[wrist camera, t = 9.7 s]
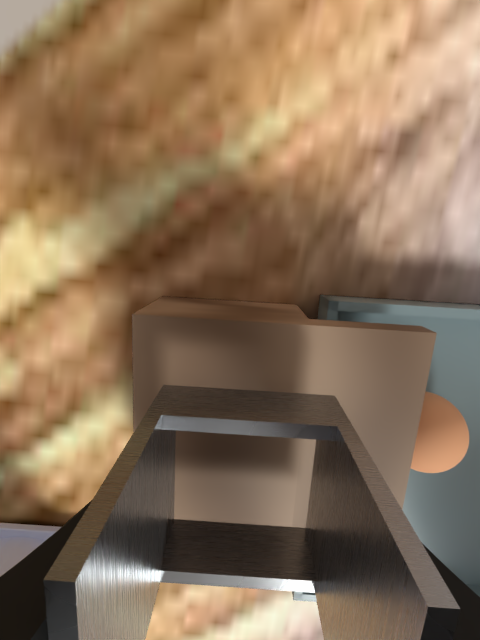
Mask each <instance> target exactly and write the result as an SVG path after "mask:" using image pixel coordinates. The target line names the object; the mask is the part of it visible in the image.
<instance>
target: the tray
mask: <svg viewBox="0 0 480 640" xmlns="http://www.w3.org/2000/svg"><path fill="white" fill-rule="evenodd" d="M318 320H334V321H351V322H367V323H383V324H399V325H416V326H423V327H425V328H427V329H429V330H431V331H434V332H436V333H437V335H436V340H435V345H434V350H433V355H432V360H431V365H430V371H429V376H428V381H427V386H426V392H430V393H434V394H437V395H439V396H441V397H443V398H445V399H446V400H448V401H449V402H451V403H452V404H453V405H454V406H455V407H456V408H457V409H458V410H459V412H460V413H461V414H462V416H463V417H464V419H465V421H466V424H467V426H468V430H469V446H468V449H467V452H466V454H465V456H464V458H463V459H462V460H461V461H460V462H459V463H458V464H457V465H456V466H455V467H453V468H451V469H449V470H447V471H444V472H439V473H424V472H419V471H416V470H413V469H411V468H410V473H409V478H408V483H407V489H406V494H405V499H404V504H403V509H402V510H403V512H404V514H405V515H406V517H407V519H408V521H409V522H410V524H411V526H412V527H413V529H414V531H415V532H416V534H417V536H418V538H419V539H420V541H421V542H422V543H423V544H424V545H425V546H426V547H427V548H428V549H429V550H430V551H431V552H432V553H433V554H434V555H435V556H436V557H437V558H438V559H439V560H440V561H441V562H442V563H443V564H444V565H445V566H446V567H447V568H449V569H450V570H451V571H452V572H453V573H454V574H455V575H456V576H457V577H458V578H459V579H460V580H462V581H463V582H464V583H465V584H466V585H467V586H468V587H469V588H470V589H471V590H472V591H474V592H475V593H476V594H477V595H478V596H479V597H480V305H479V304H463V303H446V302H430V301H413V300H397V299H381V298H364V297H348V296H331V295H320V301H319V310H318ZM292 593H293V600H299V601H314V602H317V600H316V595H315V593H310V592H296V591H292Z"/></svg>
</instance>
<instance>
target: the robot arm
mask: <svg viewBox="0 0 480 640" xmlns="http://www.w3.org/2000/svg"><path fill="white" fill-rule="evenodd" d="M91 502H92V500H91V501H90V502H89V503H88V504H87V505H86V506H85V507H84V508H83V509H81V510H80V511H79V512H78V513H77V514H76V515H75V516H74V517H72V518H71V519H70V520H69V521H68V522H67V523H66V524H65V525H63V526H62V527H57V526H42V525H28V524H13V523H0V640H49V638H48V627H47V616H46V604H45V593H44V582H43V580H44V578H45V576H46V575H47V573H48V572H49V570H50V568H51V567H52V565H53V563H54V562H55V560H56V558H57V557H58V555H59V554H60V552H61V550H62V549H63V547H64V545H65V544H66V542H67V541H68V539H69V537H70V536H71V534H72V532H73V531H74V529H75V528H76V526H77V524H78V523H79V521H80V519H81V518H82V516H83V515H84V513H85V511H86V510H87V508H88V506H89V505H90V503H91ZM421 543H422V542H421ZM422 544H423V543H422ZM423 546H424V548H425V549H426V551H427V553H428V555H429V556H430V558H431V560H432V561H433V563H434V565H435V566H436V568H437V570H438V572H439V573H440V575H441V577H442V578H443V580H444V582H445V583H446V585H447V587H448V589H449V590H450V592H451V594H452V595H453V597H454V599H455V600H456V602H457V604H458V606H459V607H460V613H459V617H458V621H457V625H456V629H455V632H454V636H453V640H480V597H479V596H478V595H477V594H476V593H475V592H474V591H472V590H471V589H470V588H469V587H468V586H467V585H466V584H465V583H464V582H463V581H462V580H460V579H459V578H458V577H457V576H456V575H455V574H454V573H453V572H452V571H451V570H450V569H449V568H447V567H446V566H445V565H444V564H443V563H442V562H441V561H440V560H439V559H438V558H437V557H436V556H435V555H434V554H433V553H432V552H431V551H430V550H429V549H428V548H427V547H426V546H425V545H424V544H423Z"/></svg>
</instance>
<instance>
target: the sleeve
mask: <svg viewBox="0 0 480 640" xmlns="http://www.w3.org/2000/svg"><path fill="white" fill-rule="evenodd" d="M176 431H192V432H207V433H223V434H238V435H253V436H269V437H284V438H300V439H315V440H316V446H315V454H314V463H313V471H312V479H311V487H310V496H309V504H308V512H307V521H306V528H299V527H284V526H269V525H255V524H240V523H225V522H210V521H196V520H181V519H174V500H175V442H176ZM43 582H44V593H45V604H46V616H47V627H48V638H49V640H145V638H146V634H147V630H148V626H149V623H150V619H151V615H152V611H153V607H154V604H155V600H156V596H157V592H158V588H159V584H160V582H167V583H181V584H195V585H210V586H224V587H239V588H253V589H267V590H282V591H296V592H310V593H315V595H316V600H317V605H318V610H319V615H320V620H321V626H322V631H323V636H324V640H453V636H454V632H455V629H456V625H457V621H458V617H459V613H460V607H459V606H458V604H457V602H456V600H455V599H454V597H453V595H452V594H451V592H450V590H449V589H448V587H447V585H446V583H445V582H444V580H443V578H442V577H441V575H440V573H439V572H438V570H437V568H436V566H435V565H434V563H433V561H432V560H431V558H430V556H429V555H428V553H427V551H426V549H425V548H424V546H423V544H422V543H421V541H420V539H419V538H418V536H417V534H416V532H415V531H414V529H413V527H412V526H411V524H410V522H409V521H408V519H407V517H406V515H405V514H404V512H403V510H402V509H401V507H400V505H399V504H398V502H397V500H396V498H395V497H394V495H393V493H392V492H391V490H390V488H389V487H388V485H387V483H386V481H385V480H384V478H383V476H382V475H381V473H380V471H379V470H378V468H377V466H376V464H375V463H374V461H373V459H372V458H371V456H370V454H369V453H368V451H367V449H366V448H365V446H364V444H363V442H362V441H361V439H360V437H359V436H358V434H357V432H356V431H355V429H354V427H353V425H352V424H351V422H350V420H349V419H348V417H347V415H346V414H345V412H344V410H343V408H342V407H341V405H340V403H339V402H338V400H337V398H336V397H335V396H334V395H318V394H302V393H286V392H271V391H255V390H239V389H224V388H208V387H192V386H176V385H163V386H162V388H161V389H160V391H159V393H158V394H157V396H156V397H155V399H154V401H153V402H152V404H151V406H150V407H149V409H148V410H147V412H146V414H145V415H144V417H143V419H142V420H141V422H140V423H139V425H138V427H137V428H136V430H135V432H134V433H133V435H132V436H131V438H130V440H129V441H128V443H127V445H126V446H125V448H124V449H123V451H122V453H121V454H120V456H119V458H118V459H117V461H116V462H115V464H114V466H113V467H112V469H111V471H110V472H109V474H108V476H107V477H106V479H105V480H104V482H103V484H102V485H101V487H100V489H99V490H98V492H97V493H96V495H95V497H94V498H93V500H92V502H91V503H90V505H89V506H88V508H87V510H86V511H85V513H84V515H83V516H82V518H81V519H80V521H79V523H78V524H77V526H76V528H75V529H74V531H73V532H72V534H71V536H70V537H69V539H68V541H67V542H66V544H65V545H64V547H63V549H62V550H61V552H60V554H59V555H58V557H57V558H56V560H55V562H54V563H53V565H52V567H51V568H50V570H49V572H48V573H47V575H46V576H45V578H44V580H43Z"/></svg>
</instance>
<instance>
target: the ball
mask: <svg viewBox="0 0 480 640" xmlns="http://www.w3.org/2000/svg"><path fill="white" fill-rule="evenodd" d="M468 446H469V430H468V426H467V424H466V421H465V419H464V417H463V416H462V414H461V413H460V412H459V410H458V409H457V408H456V407H455V406H454V405H453V404H452V403H451V402H449V401H448V400H446V399H445V398H443V397H441V396H439V395H437V394H434V393H430V392H426V391H425V396H424V401H423V406H422V412H421V417H420V422H419V427H418V432H417V437H416V442H415V448H414V453H413V458H412V463H411V469H413V470H416V471H419V472H424V473H439V472H444V471H447V470H449V469H451V468H453V467H455V466H456V465H457V464H458V463H459V462H460V461H461V460H462V459H463V458H464V456H465V454H466V452H467V449H468Z"/></svg>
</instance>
